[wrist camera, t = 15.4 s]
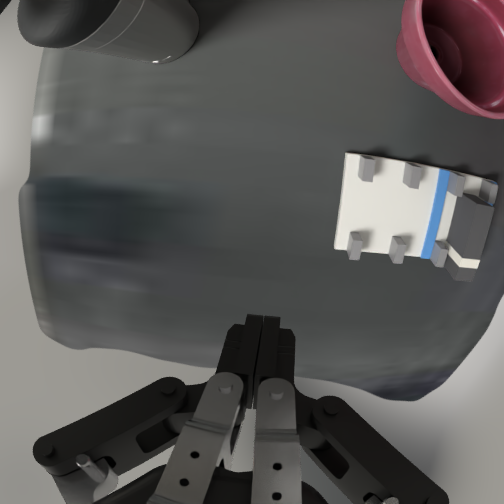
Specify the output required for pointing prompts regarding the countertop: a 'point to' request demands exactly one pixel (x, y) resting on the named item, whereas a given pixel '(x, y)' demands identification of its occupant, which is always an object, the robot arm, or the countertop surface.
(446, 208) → the white pegged board
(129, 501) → the robot arm
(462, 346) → the countertop surface
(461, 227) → the charcoal rectangular prism
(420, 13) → the plant pot
